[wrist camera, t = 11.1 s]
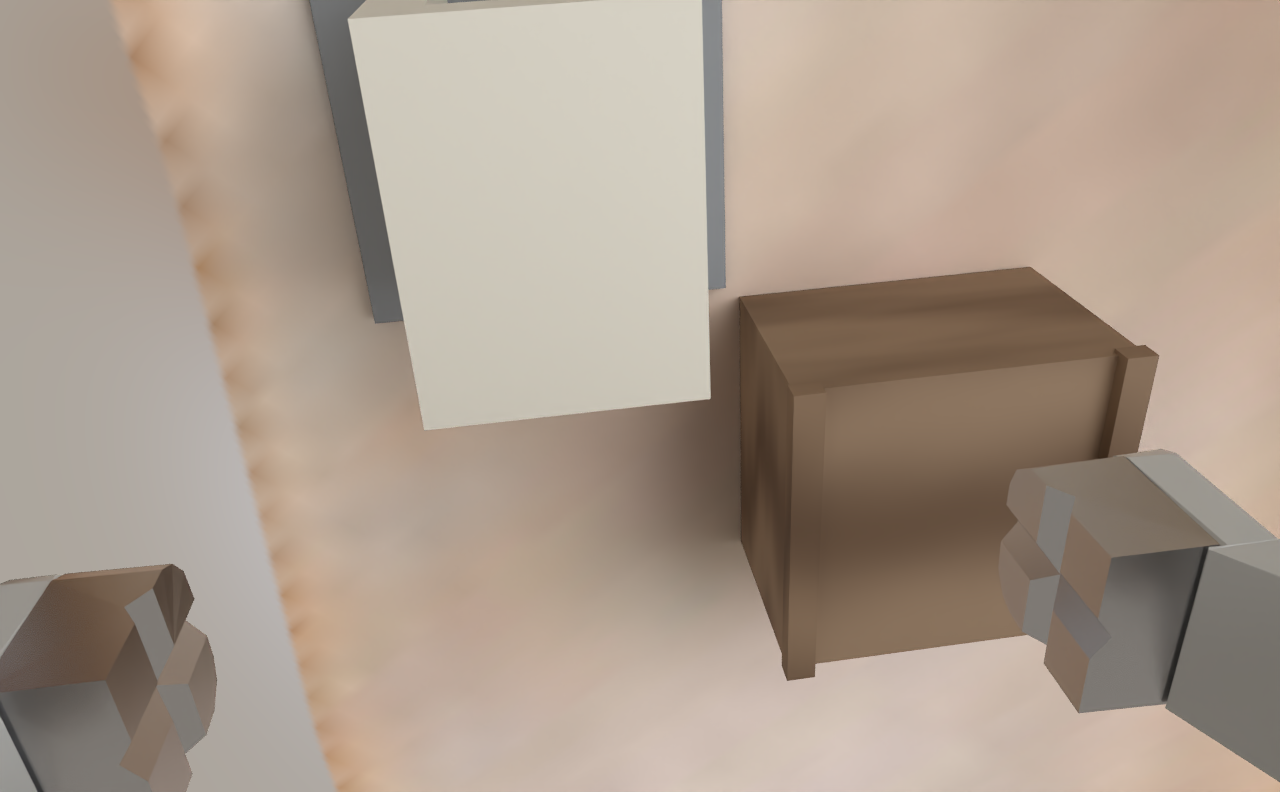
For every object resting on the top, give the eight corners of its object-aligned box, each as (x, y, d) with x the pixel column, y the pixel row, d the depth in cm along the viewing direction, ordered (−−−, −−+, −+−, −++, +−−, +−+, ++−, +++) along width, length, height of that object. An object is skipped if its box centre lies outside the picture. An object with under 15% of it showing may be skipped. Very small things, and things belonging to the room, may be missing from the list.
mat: (723, 282, 29) (725, 288, 28) (376, 317, 28) (374, 323, 27) (717, -100, 24) (720, -100, 23) (298, -72, 23) (295, -71, 23)
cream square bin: (641, -44, 24) (702, -7, 17) (656, 264, 28) (710, 398, 21) (392, -27, 23) (347, 18, 16) (442, 286, 27) (424, 430, 20)
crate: (997, 511, 34) (1095, 638, 28) (738, 544, 33) (787, 680, 28) (1034, 263, 30) (1159, 355, 24) (736, 293, 29) (793, 396, 23)
